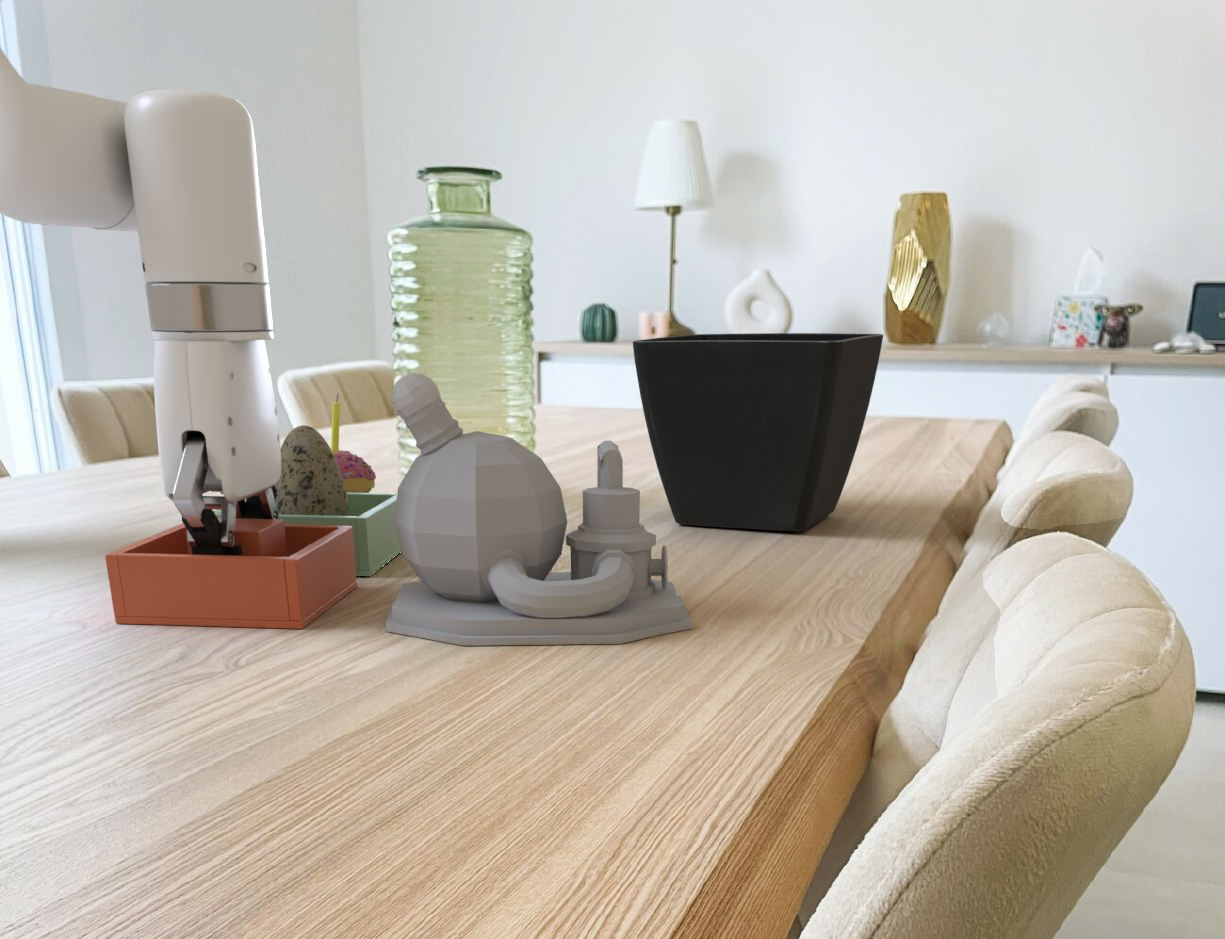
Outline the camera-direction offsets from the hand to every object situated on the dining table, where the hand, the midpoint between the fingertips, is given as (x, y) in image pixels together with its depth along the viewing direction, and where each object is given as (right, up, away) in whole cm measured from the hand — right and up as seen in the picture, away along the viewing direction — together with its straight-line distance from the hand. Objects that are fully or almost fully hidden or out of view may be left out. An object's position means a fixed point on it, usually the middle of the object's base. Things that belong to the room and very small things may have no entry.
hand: (242, 591), depth 85 cm
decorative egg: (+1, +6, +15) cm, 16 cm away
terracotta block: (0, 0, 0) cm, 0 cm away
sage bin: (+1, +5, +15) cm, 16 cm away
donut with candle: (0, +11, +28) cm, 30 cm away
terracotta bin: (0, -1, 0) cm, 1 cm away
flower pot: (+40, +13, +34) cm, 54 cm away
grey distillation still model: (+21, -2, -2) cm, 21 cm away
